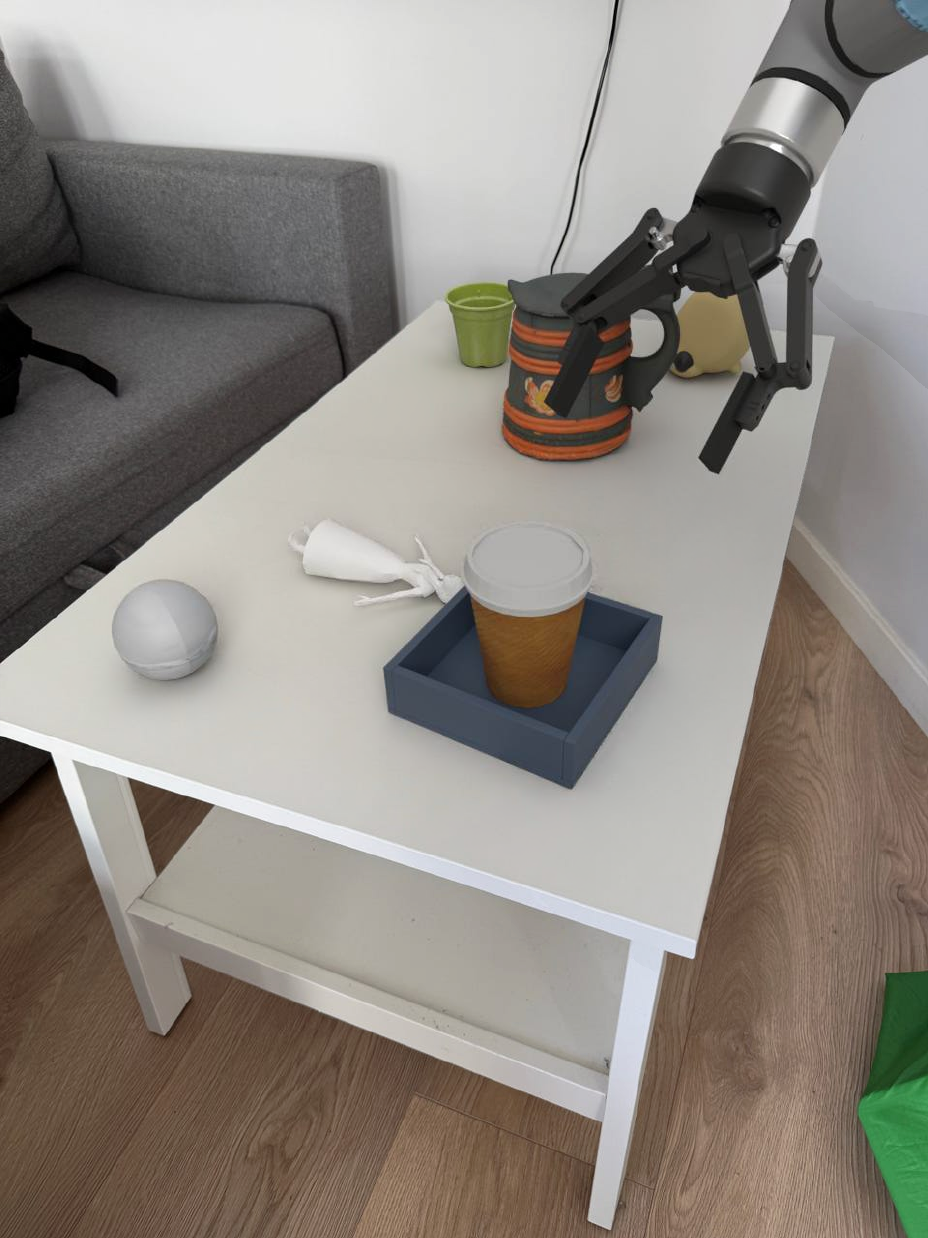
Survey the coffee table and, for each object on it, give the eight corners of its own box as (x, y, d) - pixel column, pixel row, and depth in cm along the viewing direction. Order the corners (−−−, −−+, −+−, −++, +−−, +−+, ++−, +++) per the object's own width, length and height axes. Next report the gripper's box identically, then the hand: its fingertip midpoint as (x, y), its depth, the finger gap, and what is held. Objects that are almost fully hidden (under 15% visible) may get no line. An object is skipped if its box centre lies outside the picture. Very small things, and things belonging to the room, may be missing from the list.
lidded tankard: (678, 416, 107) (701, 238, 94) (656, 477, 96) (678, 286, 83) (522, 397, 112) (523, 226, 99) (485, 453, 101) (481, 270, 89)
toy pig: (690, 380, 122) (636, 331, 118) (760, 310, 117) (705, 256, 113) (711, 411, 114) (653, 359, 110) (786, 337, 109) (729, 280, 105)
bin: (657, 660, 74) (663, 615, 71) (571, 790, 63) (574, 744, 61) (489, 603, 80) (489, 560, 77) (387, 712, 70) (382, 667, 67)
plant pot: (481, 380, 116) (479, 313, 111) (433, 360, 122) (429, 294, 116) (533, 359, 121) (534, 293, 116) (485, 340, 127) (483, 276, 121)
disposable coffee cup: (584, 729, 67) (593, 599, 60) (456, 718, 68) (449, 590, 61) (590, 645, 74) (599, 520, 67) (475, 637, 76) (470, 513, 68)
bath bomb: (244, 645, 77) (225, 567, 72) (194, 709, 71) (170, 630, 66) (161, 629, 79) (137, 552, 74) (107, 690, 73) (77, 612, 68)
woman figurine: (328, 487, 88) (500, 538, 82) (331, 525, 91) (497, 577, 85) (257, 551, 80) (442, 612, 74) (263, 591, 82) (442, 652, 77)
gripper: (945, 229, 62) (796, 510, 63) (639, 176, 76) (521, 408, 77) (935, 160, 56) (770, 474, 57) (603, 116, 69) (476, 370, 71)
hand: (627, 437), depth 67 cm, fingers open, 13 cm apart
